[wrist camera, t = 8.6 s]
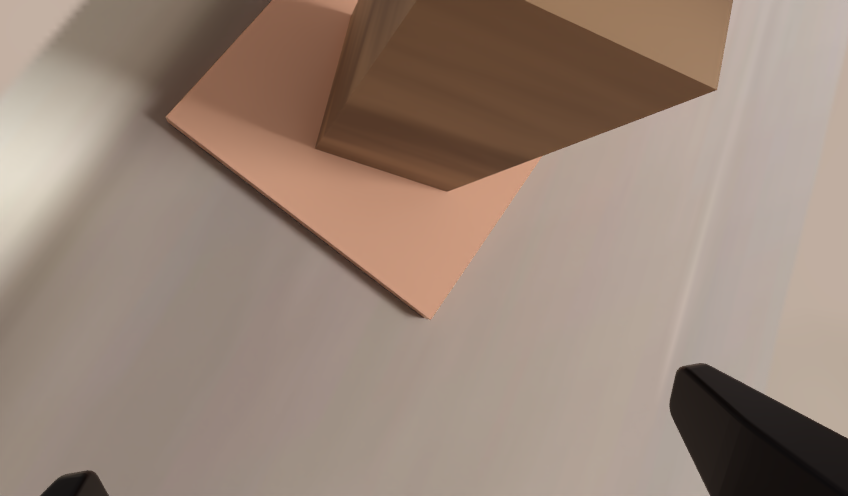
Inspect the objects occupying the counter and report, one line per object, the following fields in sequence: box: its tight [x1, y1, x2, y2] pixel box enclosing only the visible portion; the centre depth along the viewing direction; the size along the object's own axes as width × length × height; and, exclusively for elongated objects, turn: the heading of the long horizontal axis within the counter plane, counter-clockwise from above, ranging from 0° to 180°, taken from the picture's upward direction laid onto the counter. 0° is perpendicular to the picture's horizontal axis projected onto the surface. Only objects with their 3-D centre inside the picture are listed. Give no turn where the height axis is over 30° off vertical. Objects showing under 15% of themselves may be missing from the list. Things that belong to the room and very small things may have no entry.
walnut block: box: [315, 0, 733, 192], centre depth 14 cm, size 5×5×12 cm
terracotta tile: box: [166, 0, 542, 320], centre depth 20 cm, size 11×11×1 cm
